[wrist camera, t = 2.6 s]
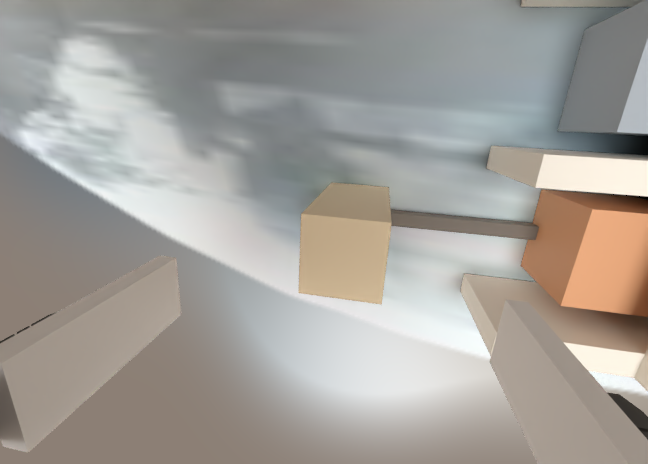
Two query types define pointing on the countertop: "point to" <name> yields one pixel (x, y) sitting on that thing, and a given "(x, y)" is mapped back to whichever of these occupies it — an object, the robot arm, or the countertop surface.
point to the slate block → (611, 77)
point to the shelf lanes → (491, 292)
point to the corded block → (543, 235)
